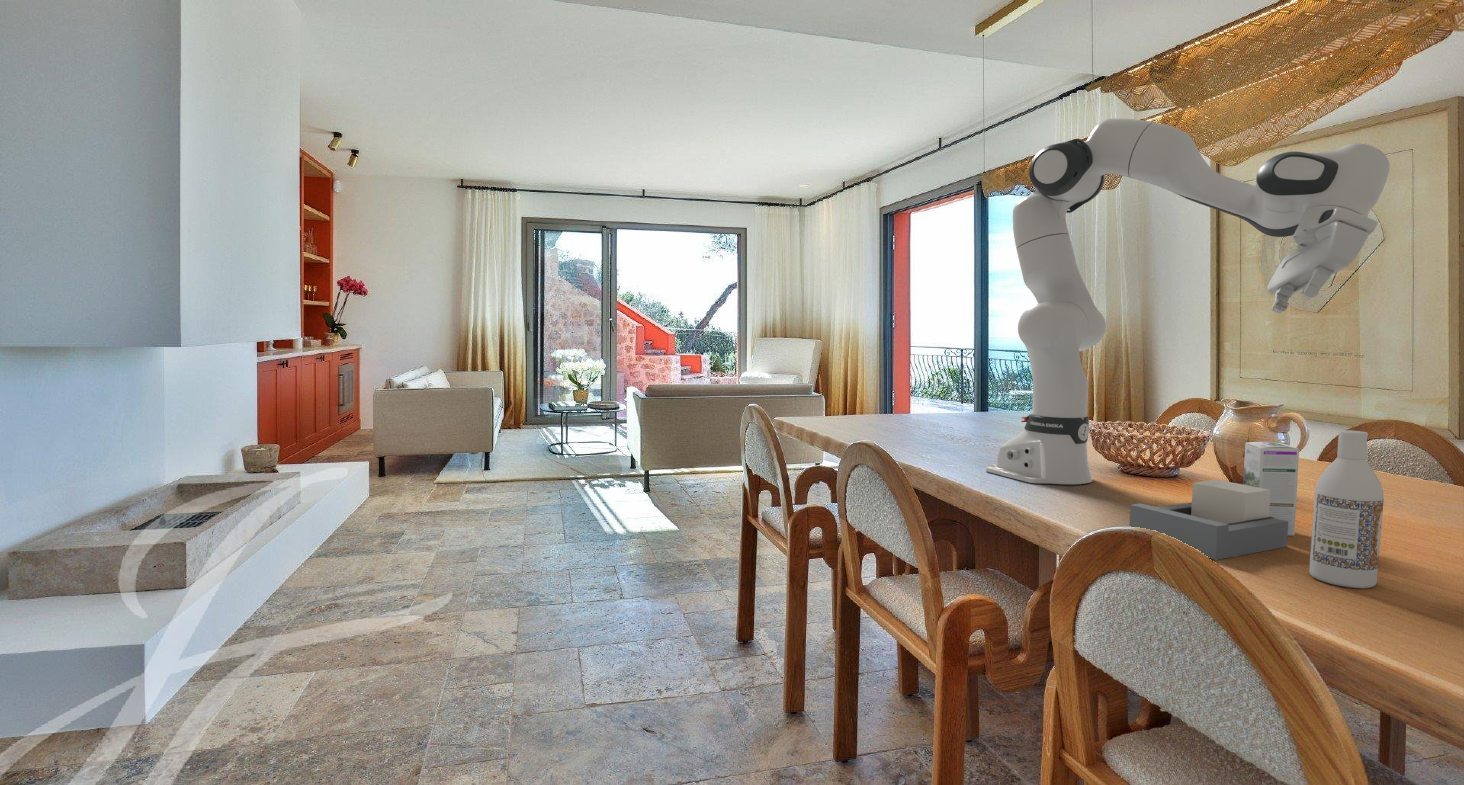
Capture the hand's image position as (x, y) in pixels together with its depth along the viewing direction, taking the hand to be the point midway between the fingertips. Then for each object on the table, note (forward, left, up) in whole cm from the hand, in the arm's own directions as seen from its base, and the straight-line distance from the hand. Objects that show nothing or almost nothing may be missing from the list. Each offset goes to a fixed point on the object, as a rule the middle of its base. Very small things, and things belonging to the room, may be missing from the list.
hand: (1292, 304), depth 127 cm
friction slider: (+1, -21, -37) cm, 43 cm away
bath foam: (+18, -30, -38) cm, 52 cm away
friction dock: (0, -26, -38) cm, 46 cm away
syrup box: (+2, -11, -38) cm, 39 cm away
